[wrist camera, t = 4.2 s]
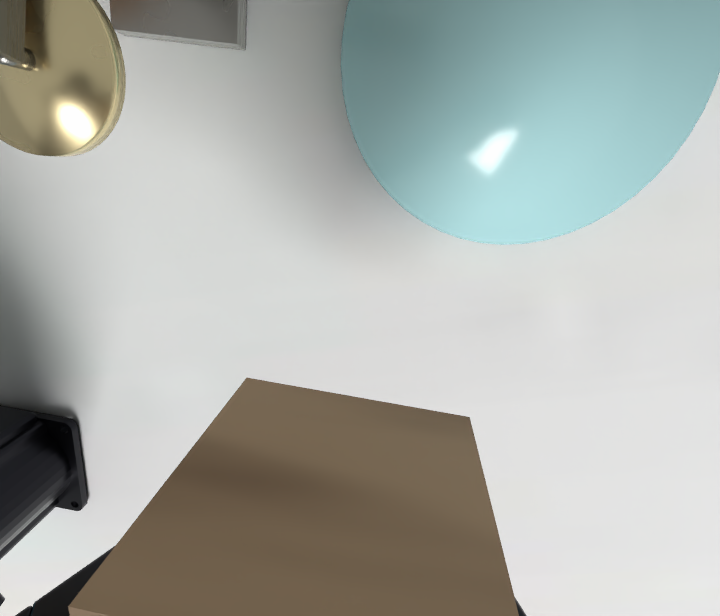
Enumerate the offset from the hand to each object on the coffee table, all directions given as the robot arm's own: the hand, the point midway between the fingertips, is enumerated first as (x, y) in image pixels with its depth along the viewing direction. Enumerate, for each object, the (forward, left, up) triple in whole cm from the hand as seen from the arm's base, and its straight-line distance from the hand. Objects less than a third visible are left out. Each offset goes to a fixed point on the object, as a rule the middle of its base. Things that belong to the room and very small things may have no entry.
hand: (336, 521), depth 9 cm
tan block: (0, 0, -1) cm, 1 cm away
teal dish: (+11, -4, -11) cm, 16 cm away
